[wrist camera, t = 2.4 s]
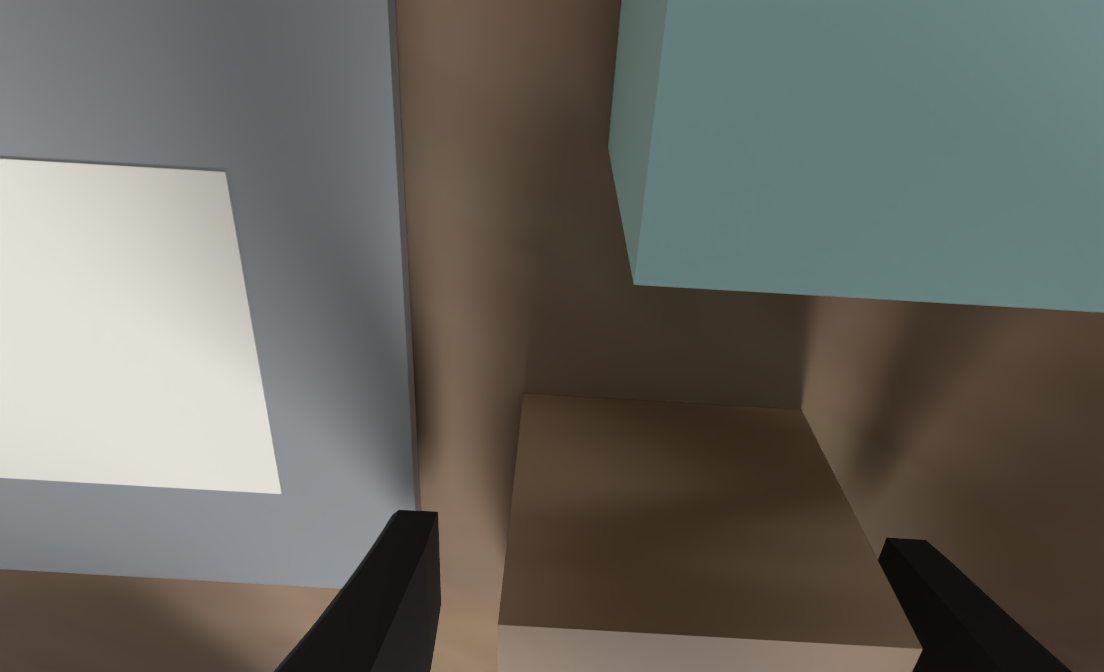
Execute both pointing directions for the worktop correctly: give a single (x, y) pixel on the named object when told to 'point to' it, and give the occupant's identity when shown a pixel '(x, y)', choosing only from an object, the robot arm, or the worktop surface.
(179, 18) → the grey square plate
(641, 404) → the walnut block
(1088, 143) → the teal block
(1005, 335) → the worktop surface
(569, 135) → the worktop surface
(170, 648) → the worktop surface
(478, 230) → the worktop surface
